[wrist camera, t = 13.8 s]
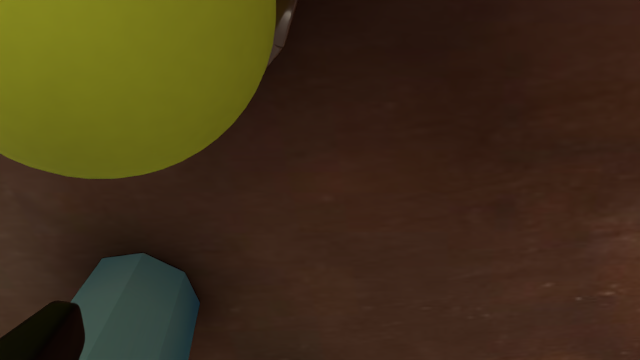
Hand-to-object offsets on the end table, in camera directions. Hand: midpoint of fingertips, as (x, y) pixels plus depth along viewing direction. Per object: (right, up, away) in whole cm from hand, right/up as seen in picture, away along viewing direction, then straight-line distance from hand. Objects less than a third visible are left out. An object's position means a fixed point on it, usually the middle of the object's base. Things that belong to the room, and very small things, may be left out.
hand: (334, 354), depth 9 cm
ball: (-5, +7, +1) cm, 8 cm away
